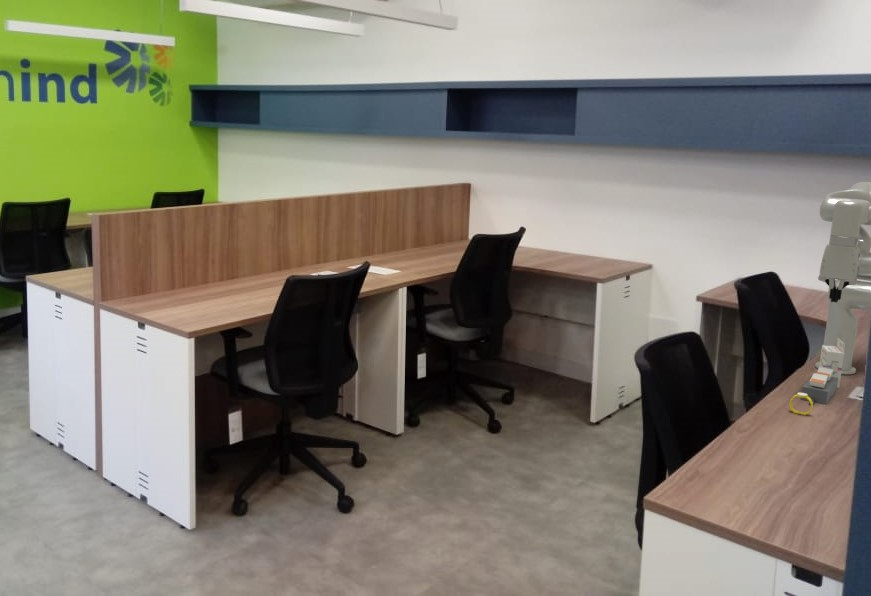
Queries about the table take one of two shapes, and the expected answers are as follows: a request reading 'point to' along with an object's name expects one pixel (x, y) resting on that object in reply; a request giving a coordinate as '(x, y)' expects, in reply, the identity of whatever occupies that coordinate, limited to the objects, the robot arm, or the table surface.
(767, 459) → the table surface
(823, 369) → the rocker
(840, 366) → the ink cartridge box
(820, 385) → the plate
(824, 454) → the table surface
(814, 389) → the rocker switch panel
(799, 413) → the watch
